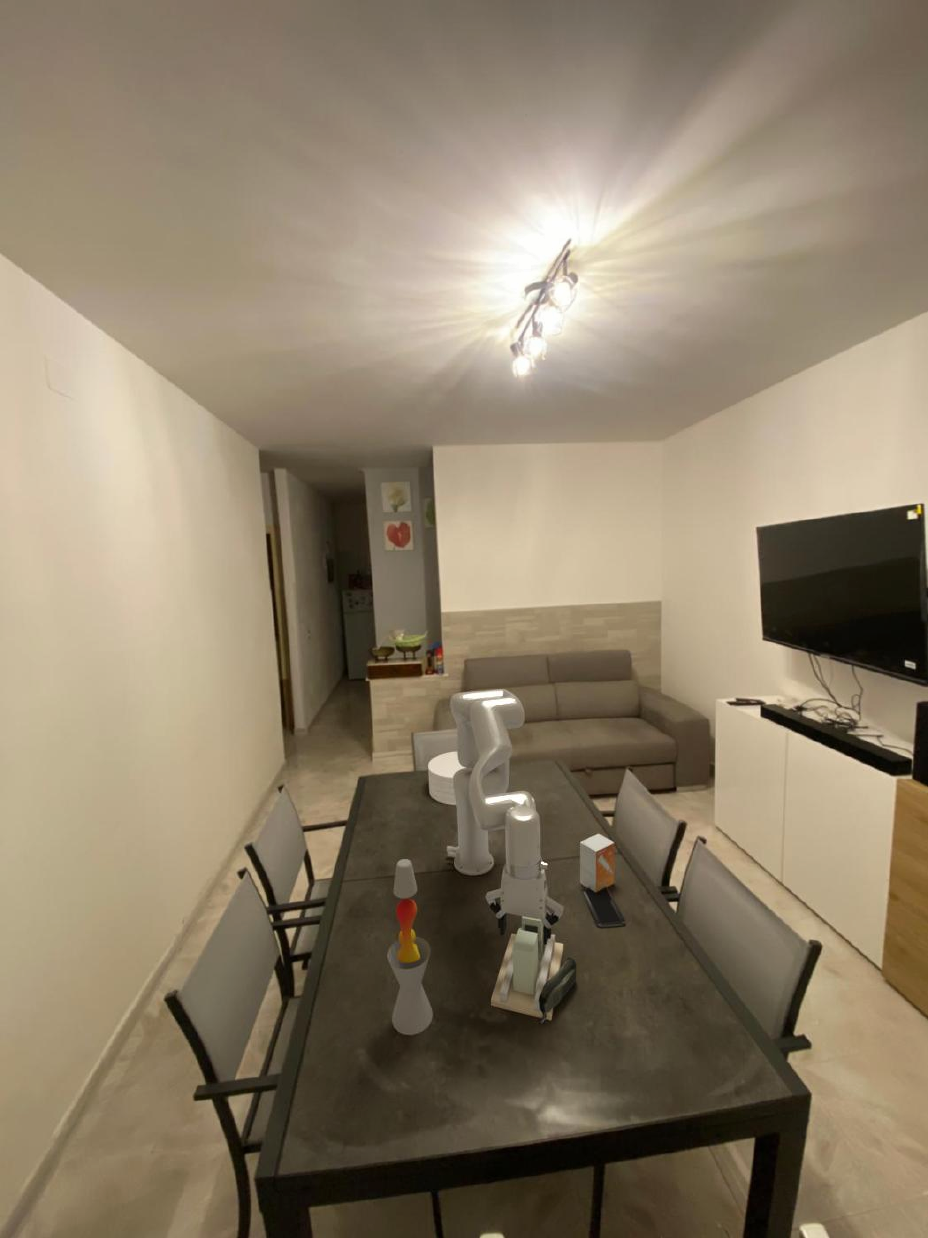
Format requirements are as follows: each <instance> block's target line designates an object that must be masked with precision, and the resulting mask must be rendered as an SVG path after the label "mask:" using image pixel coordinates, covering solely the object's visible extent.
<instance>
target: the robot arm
mask: <svg viewBox="0 0 928 1238" xmlns="http://www.w3.org/2000/svg"><path fill="white" fill-rule="evenodd" d="M449 708H450V712H451V714H452V717H453V719H454V721H455V725H456V750H457V756H458V761H459V763H460V765H461V766H463V767H466V768H463V769H460V770H458V771H457V772H456V773H455V774H454V776H453V788H454V793H455V798H456V805H455V806H456V820H457V821H456V822H457V840H458V841H457V843H458V845H457V846H453V845H447V846H446V853H447V857H450V858H454V860H453V861H454V862H453V863H454V868H455V870H456V871H458V872H459V873H461V874H463V875H467V876H479V875H480V876H481V875H484V874H486V873H489V872H490V871H491V870H492V869H493V868H494V865H495V860H494V857H493V855H492V854H491V853H490V852H489V832H491V831H497V830H503V829H504V831H505V832H504V834H505V835H504V836H505V838H504V839H505V840H504V841H505V863H504V864H503V869H502V874H501V882H500V888H498V889H493V890H492V891H487V892H486V895H485V899H486V901H487V904H489V909H491V910H492V912H493V913H494V914H495V917H496V918H497V928H498V929H499V930H500V931H499V935H500V936H504V935H505V931H506V930H507V924H508V923H507V914H509V915H514V916H519V917H520V916H521V917H522V916H523V917H529V918H534V919H540V920H541V921H542V923H543V924H544V927H543V943H544V944H545V945H547V941H548V939H551V934H552V926H553V925H555V924H556V923H558V922H559V919H560V918H562V915H563V913H564V911H565V908H564V907H565V906H563V905H562V904H560V903H559V902H557V901H555V900H554V899H552V898H550V896H549V892H548V891H549V890H548V881H547V876H546V872H545V870H548V862H545V861H543V860H542V856H541V819H540V815H539V812H537V807H536V802H535V798H534V797H533V796H532V794H530V793H529V792H528V791H526V790H518V791H512V792H509V791H508V789H509V785H510V784H509V783H510V781H509V780H510V779H509V777H510V759H511V757H512V755H513V753H514V752H513V751H514V750H513V749H514V748H513V746H512V742H511V740H510V739H511V738H510V736H509V733H508V730H510V729H518V728H521V727H522V726H523V725H524V724H525V718H526V715H525V714H526V713H525V708H524V706H523V703H522V702H521V700H520V699H519V698H518V697H517V696H516V695H515V694H514V693H512V692H511V691H509V690H507V689H505V688H499V689H498V688H497V689H487V690H486V689H484V690H475V691H471V690H470V691H464V692H458V693H454V694H453V695H452V696H451V697H450V701H449ZM507 791H508V792H507ZM498 898H499V900H500V901H499V902H498V901H497V900H495V899H498ZM548 907H549V908H550V909H551V910H553V913H552V914H551V913H550V911H549V910H548V909H547V908H548Z"/></svg>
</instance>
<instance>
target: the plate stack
mask: <svg viewBox="0 0 928 1238" xmlns="http://www.w3.org/2000/svg"><path fill="white" fill-rule="evenodd" d="M463 768H466V767H463V766H461V765H460V763H459V761H458V756H457V751H449V752H445V753H442V754H439V755H436V756H435V757H433V758H431V760H430V761H429V762H428V763H427V769H428V772H427V773H428V789H429V795H430V796H431V798H432V799H434V800H435V801H436V802H439V803H442V804H445V805H453V806H456V798H455V793H454V788H453V776H454V774H455V773H456V772H457V771H458V770H460V769H463Z"/></svg>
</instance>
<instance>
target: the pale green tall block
mask: <svg viewBox="0 0 928 1238" xmlns="http://www.w3.org/2000/svg"><path fill="white" fill-rule="evenodd" d="M512 954H513V988H514V991H518V992H522V993H527V994H531V995H534V992H535V988H536V983H537V979H538V974H539V970H538V933H533V932H528V931H523V930H517V932H516V938H515V942H514V945H513V948H512Z"/></svg>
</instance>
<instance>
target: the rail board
mask: <svg viewBox="0 0 928 1238" xmlns="http://www.w3.org/2000/svg"><path fill="white" fill-rule="evenodd" d="M543 927H544V924H543V923H542V921H541V920H540V919H534V918H529V917H523V916H521V927H518V930H523V931H528V932H533V933H538V970H539V974H538V979H537V983H536V988H535V992H534V995H531V994H527V993H522V992H518V991H514V988H513V954H512V948H513V945H514V942H515V938H516V935H517V933H516V934H515V933H511V934H510V937H509V940H508V942H507V943H508V944H507V946H506V950H505V953H504V956H503V959H502V962H501V967H500V970H499V973H498V976H497V979H496V983H495V985H494V988H493V991H492V995H491V998H490V1004H491V1005H490V1006H492V1007H496V1008H500V1009H503V1010H508V1011H511V1012H516V1013H519V1014H524V1015H527V1016H531V1017H536V1018H540V1019H541V1018H542V1016H543V1014H542V1012H541V1010H540V1008H539V996H540V993H541V991H542V989H543V987H544V985H545V983H546V982H547V981H548V980H549V979H551V978H552V977H553V976H554V975H555V974H556V973H557V971H558V970H559V969H560V968H561V967H562V959H563V954H564V943H561V942H556V934H552V933H551V939H548V941H547V945H545V944H544V943H543ZM518 930H517V931H518ZM553 1013H554V1008H552V1009H551V1010H550V1011H549V1012H547V1017H546V1019H545V1020H548V1021H552V1018H553Z"/></svg>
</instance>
